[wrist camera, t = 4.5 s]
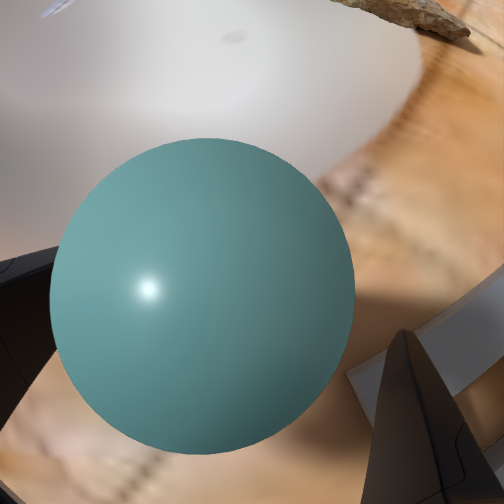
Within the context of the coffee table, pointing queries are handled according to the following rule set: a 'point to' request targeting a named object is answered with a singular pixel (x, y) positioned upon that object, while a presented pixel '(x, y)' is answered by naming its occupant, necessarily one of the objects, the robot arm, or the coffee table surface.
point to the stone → (413, 15)
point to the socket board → (451, 351)
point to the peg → (202, 296)
